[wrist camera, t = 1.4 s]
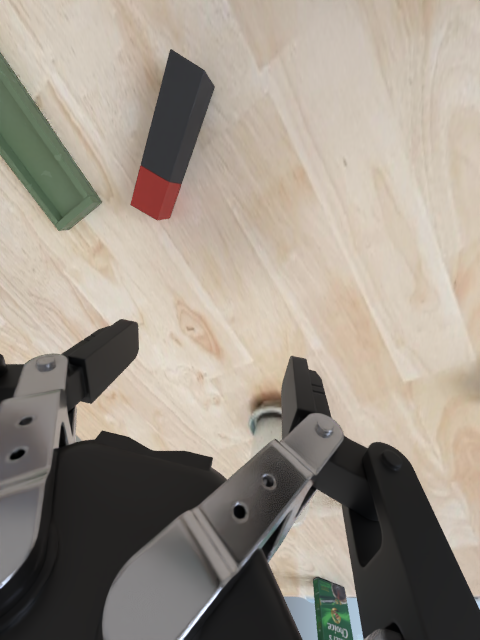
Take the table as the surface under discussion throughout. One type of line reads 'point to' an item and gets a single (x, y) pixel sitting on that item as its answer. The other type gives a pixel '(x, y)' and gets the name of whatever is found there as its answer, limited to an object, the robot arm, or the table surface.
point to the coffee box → (331, 611)
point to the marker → (172, 136)
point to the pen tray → (40, 156)
